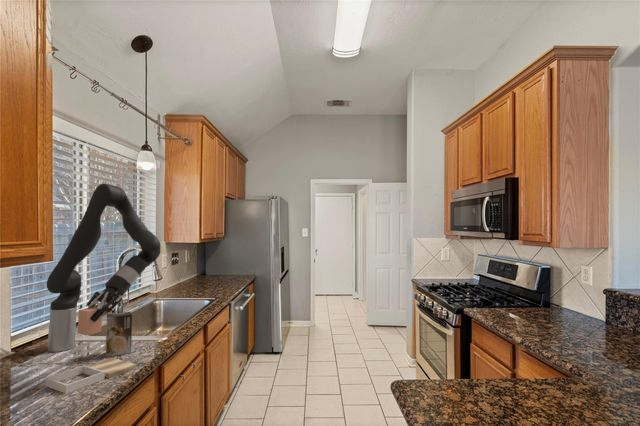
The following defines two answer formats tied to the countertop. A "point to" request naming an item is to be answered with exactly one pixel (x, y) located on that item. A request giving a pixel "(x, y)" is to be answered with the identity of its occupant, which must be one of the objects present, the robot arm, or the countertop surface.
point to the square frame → (66, 388)
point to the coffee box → (118, 334)
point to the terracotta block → (88, 322)
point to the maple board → (113, 367)
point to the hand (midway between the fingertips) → (87, 319)
